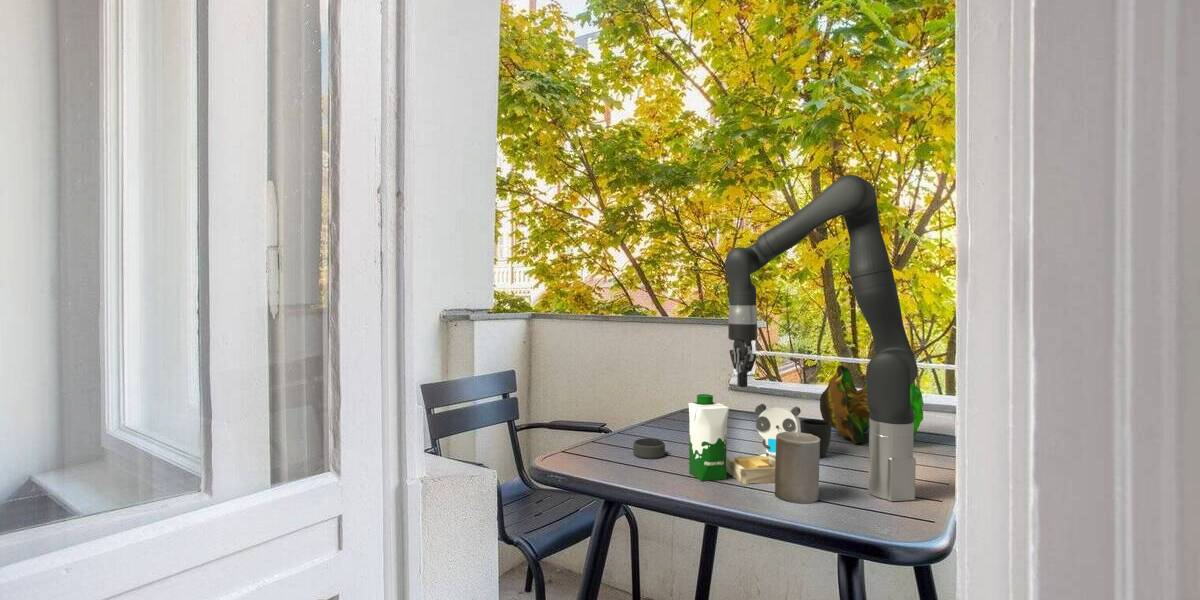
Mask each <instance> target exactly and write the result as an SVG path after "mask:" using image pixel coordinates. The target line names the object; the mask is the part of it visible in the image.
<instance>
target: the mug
mask: <svg viewBox="0 0 1200 600" xmlns="http://www.w3.org/2000/svg"><path fill="white" fill-rule="evenodd" d="M799 422H800V429H799V431H800V433H806V434H811V435H814V436H816V437H818V438H820V459H823V458H826V457H827V453H828V450H829V446H830V443H831V437H832V427H831V423H830V422H828V421H824V420H823V419H817V418H816V419H815V418H809V419H807V418H801V419H800V420H799Z"/></svg>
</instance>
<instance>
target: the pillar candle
mask: <svg viewBox="0 0 1200 600" xmlns="http://www.w3.org/2000/svg"><path fill="white" fill-rule="evenodd" d="M820 460H821V458H820V438H818V437H816V436H814V435H811V434H806V433H801V432H798V431H797V432H782V433H778V434H777V435H776V458H775V483H774V496H775V497H776V498H777V497H778V498H777V499H780V500H782V501H784V500H785V502H788V501H790V503H792V502H796V503H795V504H805V505H806V504H813V503H816V502H817V501H819V493H820V492H819V489H820V488H819V487H820Z"/></svg>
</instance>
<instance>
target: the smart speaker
mask: <svg viewBox="0 0 1200 600" xmlns="http://www.w3.org/2000/svg"><path fill="white" fill-rule="evenodd" d="M632 446H633V450H632V451H633V455H634V456H636V457H637V458H641V459H645V460H653V459H654V460H655V459H660V458H663V456H665V453H666V444H665V442H664V441H663V440H661V439H657V438H639V439H636V440H635V441H633V445H632Z"/></svg>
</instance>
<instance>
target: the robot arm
mask: <svg viewBox="0 0 1200 600" xmlns="http://www.w3.org/2000/svg"><path fill="white" fill-rule="evenodd" d="M877 200H878V199H877V193H876V190H875V188H874V185H873V184H872V183H871V182H870V181H869V180H867V179H864V178H863V177H861V176H858V175H855V174H846V175H843V176H840V177H839V178H837V179H836V180H835V181H833V182H832V183H831V184H830V185H829V186H827V187H825V189H824V190H823V191H822V192H821V193H819V194H818V195H817V196H816V197H815V198H813V199H812V200H811V201H809V202H808V203H807V204H806V205H804V206H802V208H801V209H799V210H798V211H796V212H795V213H793V214H792V215H790V216H789V217H787V218H786V219H784V220H782V221H781V222H779V223H777V224H776V225H774V226H772V227H771V228H769V229H768V230H766V231H764V232H763V233H762V234H760V235H759V236H758V237H757V239H756V242H754V243H753V244H751V245H750V246H748V247H742V246H741V247H740V246H736V247H733V248H731V249H730V250H729V251H728V253H727V254H726V258H725V263H724V264H725V265H724V266H725V273H726V274H725V275H726V278H727V283H728V288H729V308H728V309H729V310H728V333H727V334H728V340H730V341H733V345H732V346H733V347H732V349H729V356H730V359H731V363H732V367H733V369H734V370H735V372H736V373H737V387H740V388H747V387H748V374H749V373H750V372H752V370H753V368H754V365H755V362H756V359H757V353H753V345H752V344H753V343H752V341H756V340H757V339H758V308H757V288H756V285H755V284H753V282H752V276H751V274H754V273H755V272H757V271H759V270H761V269H763V268H764V267H765V266H766V265H767V264H768V263H770V262H771V261H772V260H773V259H774V258H776V257H778V256H780V255H782V254H783V253H785V252H787V251H788V250H790V249H792V248H794V247H795V246H797V245H798V244H799V243H801V242H802V241H803V240H804V239H805V238H807V237H808V236H809V235H810V234H811V233H812V232H813V231H815V230H816V229H818V227H820V226H821V225H823V224H825V223H826V222H829V221H831V220H833V219H835V218H838V217H840V216H842V217H843V220H844V223H845V226H846V230H847V232H848V238H849V255H848V256H849V257H848V258H849V259H848V261H849V263H848V266H849V267H848V268H849V269H848V270H849V276H850V282H851V286H852V289H853V294H854V295H853V296H854V298H855V300H856V303H857V305H858V308H859V309H860V312H861V314H862V316H863V317H864V319H865V322H866V324H867V325H868V327H869V329H870V333H871V335H872V340H873V345H874V350H875V355H874V356H873V357H871V358H870V360H869V362H868V363H867V367H866V373H867V374H866V379H867V405H868V408H869V428H868V429H869V430H868V469H867V470H868V471H867V472H868V473H867V474H868V478H867V479H868V483H867V485H868V486H867V488H868V489H867V491H868V493H869V494H870V495H872V496H874V497H877V498H880V499H884V500H888V501H890V502H896V501H897V502H900V501H901V502H902V501H903V502H904V501H915V500H916V465H917V464H916V463H917V461H916V460H917V459H916V458H915V457H914V437H913V434H914V411H913V409H912V407H911V402H910V385H911V384H912V383H913V382H914V381H915V380H916V379H917V376H918V364H917V360H916V358H915V356H914V353H913V350H912V349H913V348H912V346H911V345H910V344H911V343H910V341H909V339H908V336H907V333H906V330H905V325H904V321H903V315H902V310H901V309H902V308H901V304H900V298H899V295H898V294H899V293H898V289H897V285H896V280H895V276H894V275H895V274H894V270H893V268H892V267H893V266H892V264H891V260H890V256H889V253H888V249H887V247H886V243H885V240H884V237H883V235H882V230H881V224H880V217H879V215H880V214H879V209H878V208H879V207H878V201H877ZM915 382H916V381H915Z"/></svg>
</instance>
